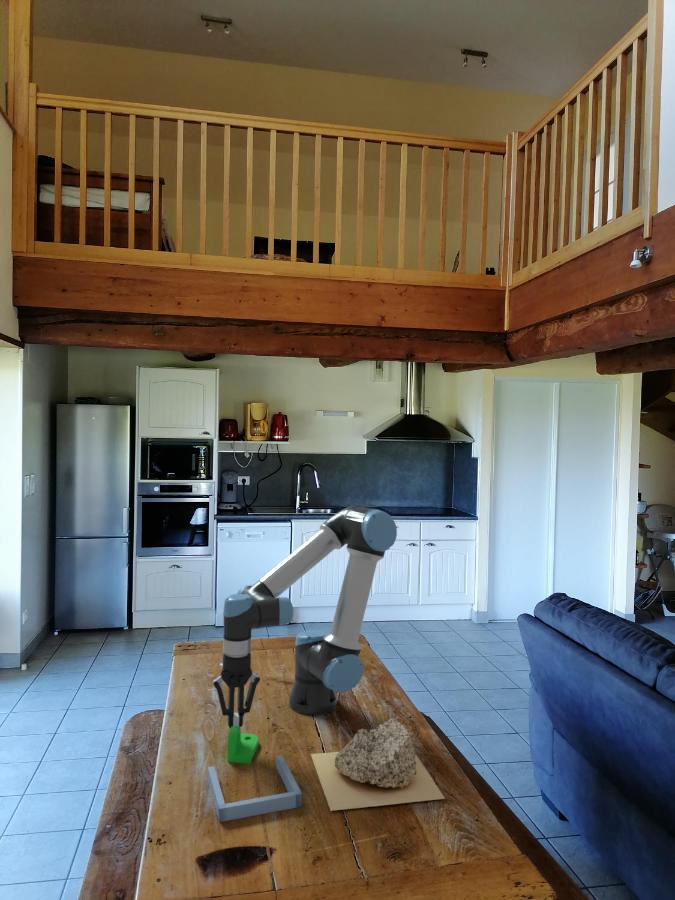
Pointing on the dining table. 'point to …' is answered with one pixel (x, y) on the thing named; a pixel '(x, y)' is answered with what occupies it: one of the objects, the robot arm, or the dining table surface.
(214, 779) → the hub cradle
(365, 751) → the rock
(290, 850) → the dining table surface
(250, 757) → the mechanical part
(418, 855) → the dining table surface
